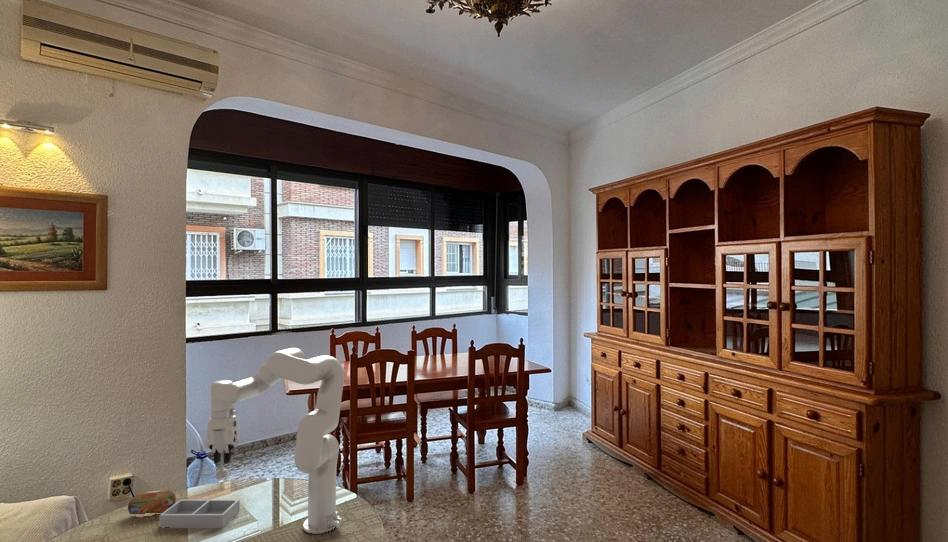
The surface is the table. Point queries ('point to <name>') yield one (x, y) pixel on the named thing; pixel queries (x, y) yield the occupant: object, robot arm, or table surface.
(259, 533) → the table surface
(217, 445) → the chalice
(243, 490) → the table surface
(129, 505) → the tin
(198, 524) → the holder
